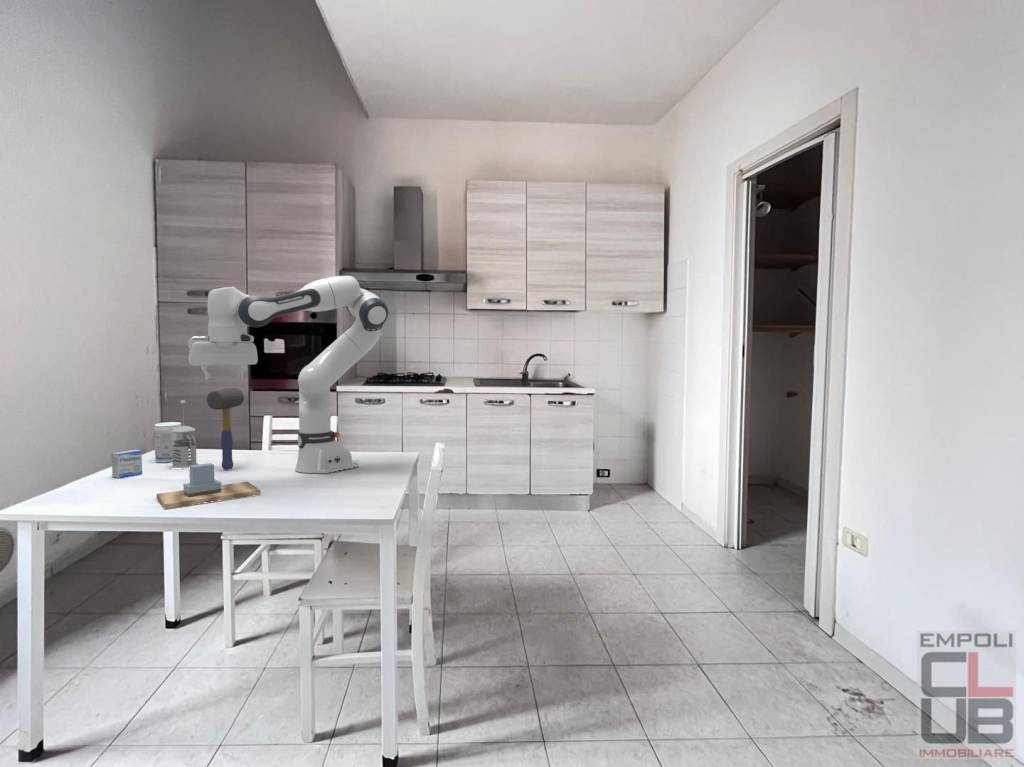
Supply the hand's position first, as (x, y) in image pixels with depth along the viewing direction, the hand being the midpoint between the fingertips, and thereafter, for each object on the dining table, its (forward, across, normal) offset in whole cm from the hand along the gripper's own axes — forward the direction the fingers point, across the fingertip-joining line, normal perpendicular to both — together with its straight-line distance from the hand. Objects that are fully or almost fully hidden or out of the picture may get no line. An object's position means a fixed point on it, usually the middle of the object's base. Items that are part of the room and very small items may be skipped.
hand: (224, 379), depth 195 cm
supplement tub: (+35, -8, +53) cm, 64 cm away
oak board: (+35, -8, -12) cm, 38 cm away
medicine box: (+35, -24, +34) cm, 55 cm away
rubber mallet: (+35, +6, +24) cm, 43 cm away
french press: (+35, -5, +38) cm, 52 cm away
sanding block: (+34, -10, -12) cm, 37 cm away
